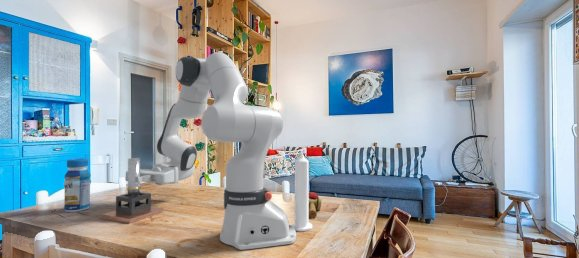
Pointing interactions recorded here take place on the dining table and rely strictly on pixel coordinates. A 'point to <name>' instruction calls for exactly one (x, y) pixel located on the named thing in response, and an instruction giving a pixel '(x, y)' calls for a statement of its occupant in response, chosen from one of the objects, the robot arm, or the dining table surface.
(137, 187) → the steel tube
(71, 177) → the blue pill bottle
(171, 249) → the dining table surface
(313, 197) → the kendama
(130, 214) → the collar stand
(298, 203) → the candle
